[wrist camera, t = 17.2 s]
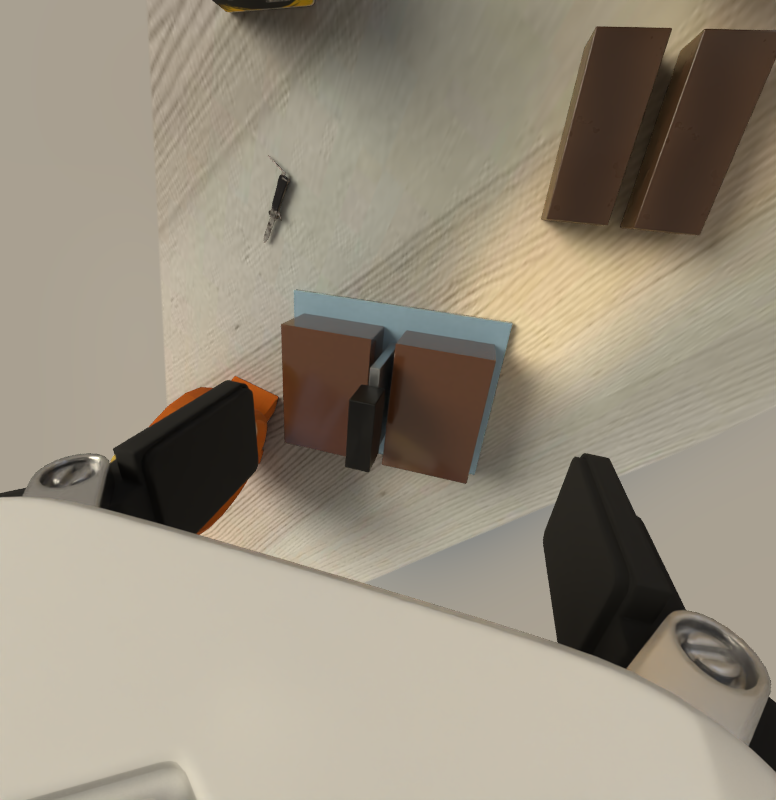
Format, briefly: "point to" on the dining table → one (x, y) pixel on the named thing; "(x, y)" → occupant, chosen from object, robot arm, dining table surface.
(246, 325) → the dining table surface
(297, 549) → the dining table surface
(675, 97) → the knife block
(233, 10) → the medicine bottle
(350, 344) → the cake
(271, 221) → the knife
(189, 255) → the dining table surface
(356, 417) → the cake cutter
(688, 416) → the dining table surface
